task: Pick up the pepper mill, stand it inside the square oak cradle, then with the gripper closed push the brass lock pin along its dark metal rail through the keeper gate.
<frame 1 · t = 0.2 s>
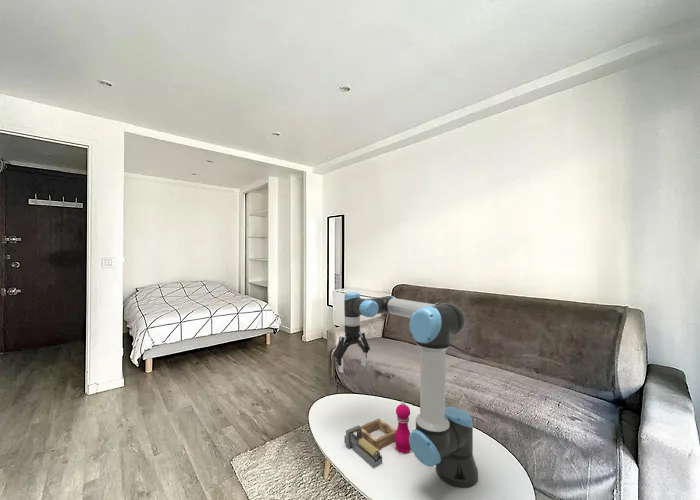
hand: (352, 368, 148), 28 cm above the table, fingers open, 13 cm apart
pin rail: (362, 452, 128), on the table
cradle: (377, 438, 138), on the table
pepper mill: (403, 449, 130), on the table
lock pin: (368, 448, 124), point 4 cm above the table, slide at 0.0 cm
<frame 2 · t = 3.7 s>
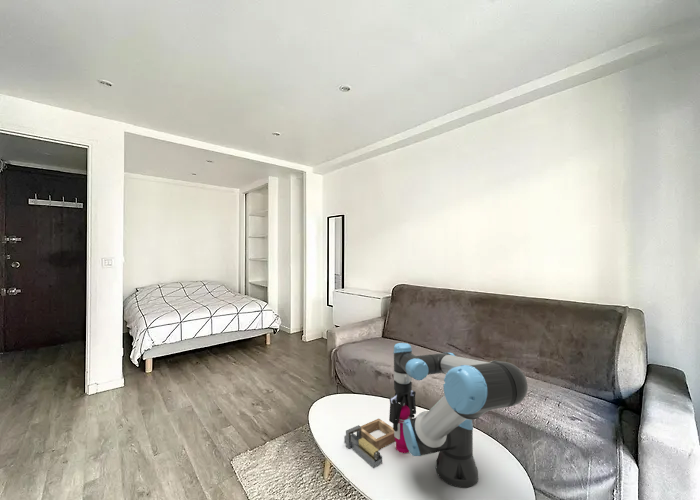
hand: (403, 434, 130), 6 cm above the table, fingers closed on pepper mill, 6 cm apart
pepper mill: (403, 449, 130), on the table, touching gripper
everything else where it was.
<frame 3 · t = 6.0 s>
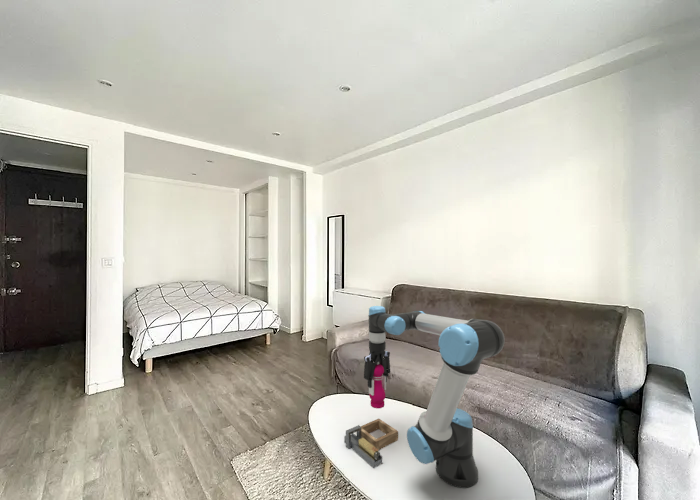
hand: (377, 391, 138), 21 cm above the table, fingers closed on pepper mill, 6 cm apart
pepper mill: (377, 405, 138), point 15 cm above the table, touching gripper
everything else where it was.
when the fingers open (8 cm above the table, at t = 8.7 s): pepper mill drops 2 cm, resting in cradle.
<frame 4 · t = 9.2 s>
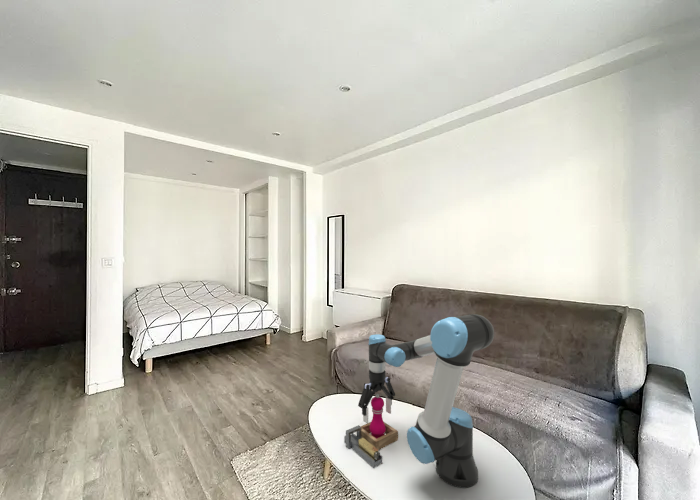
hand: (377, 417, 138), 9 cm above the table, fingers open, 13 cm apart
pepper mill: (377, 438, 138), resting in cradle
everything else where it was.
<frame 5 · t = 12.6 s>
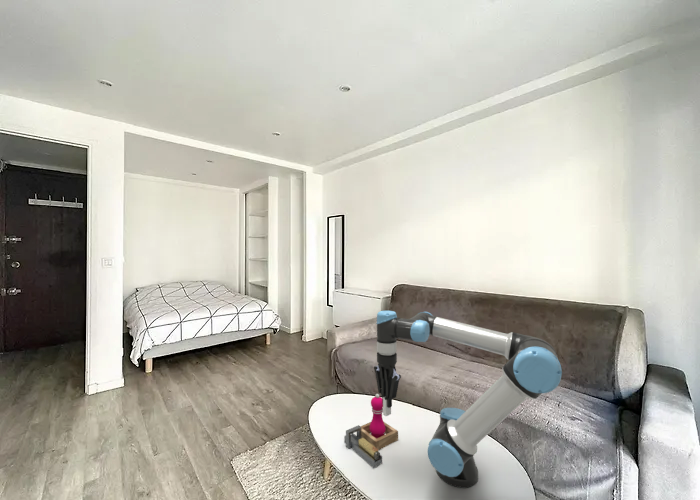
hand: (387, 414, 116), 22 cm above the table, fingers closed
nothing on the table moved.
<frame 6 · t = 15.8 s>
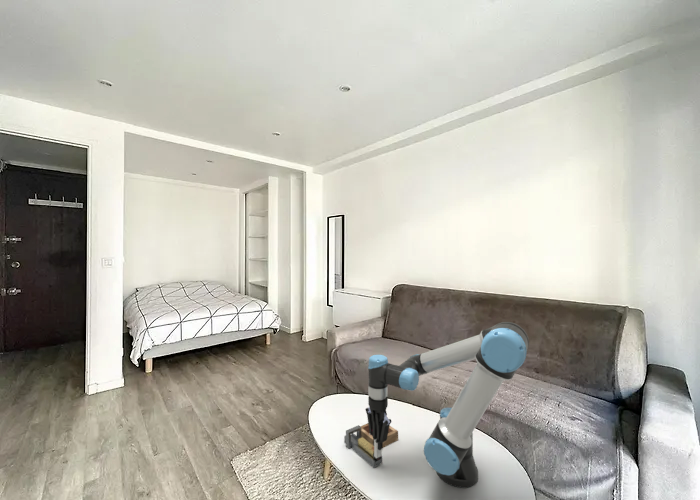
hand: (377, 456, 120), 4 cm above the table, fingers closed
lock pin: (368, 448, 125), point 4 cm above the table, slide at 0.4 cm, touching gripper
everything else where it was.
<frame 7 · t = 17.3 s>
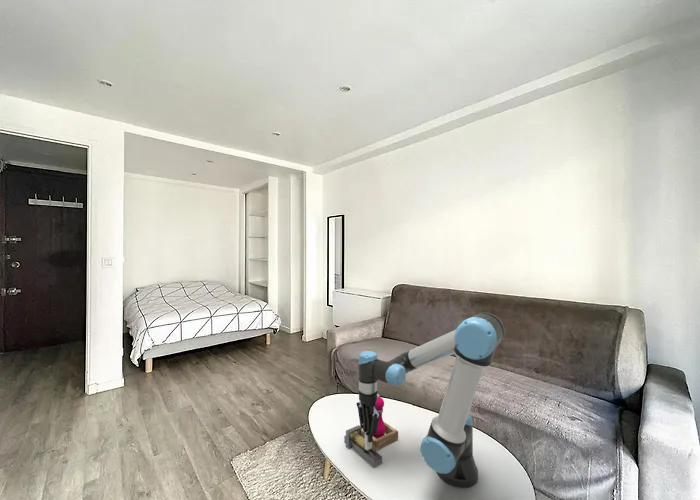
hand: (368, 448, 125), 4 cm above the table, fingers closed
lock pin: (359, 440, 130), point 4 cm above the table, slide at 6.5 cm, touching gripper
everything else where it was.
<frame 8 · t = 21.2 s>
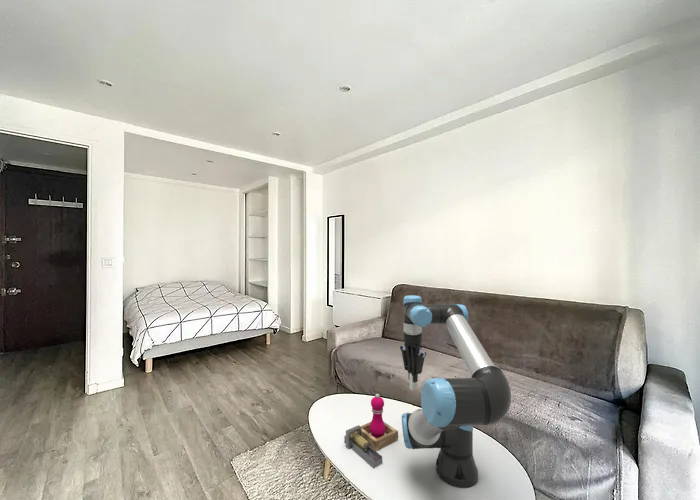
hand: (413, 388, 128), 26 cm above the table, fingers closed
lock pin: (359, 440, 130), point 4 cm above the table, slide at 6.5 cm
everything else where it was.
at the end: pepper mill 0.0 cm from the cradle (horizontally); pepper mill tilted 0°; lock pin slide at 6.5 cm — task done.
